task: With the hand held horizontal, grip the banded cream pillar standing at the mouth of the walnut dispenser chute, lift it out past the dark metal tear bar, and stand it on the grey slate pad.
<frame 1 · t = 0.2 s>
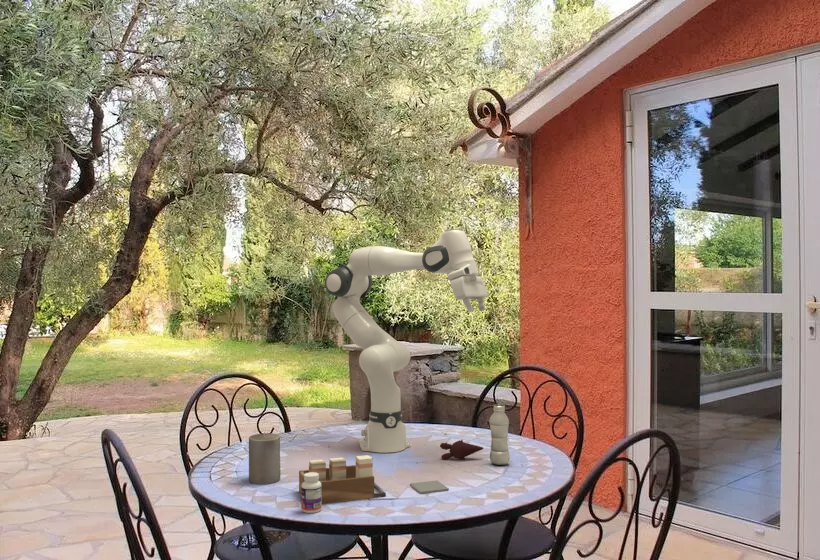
hand: (477, 311, 233), 52 cm above the table, tool tilted 20°, fingers open, 8 cm apart
icecream: (461, 459, 236), on the table
pill bottle: (311, 510, 183), on the table
plastic bottle: (499, 465, 228), on the table
banded cream pillar: (364, 491, 200), resting in dispenser
pad: (429, 488, 203), on the table
pillar candle: (264, 481, 212), on the table
dispenser: (337, 494, 197), on the table
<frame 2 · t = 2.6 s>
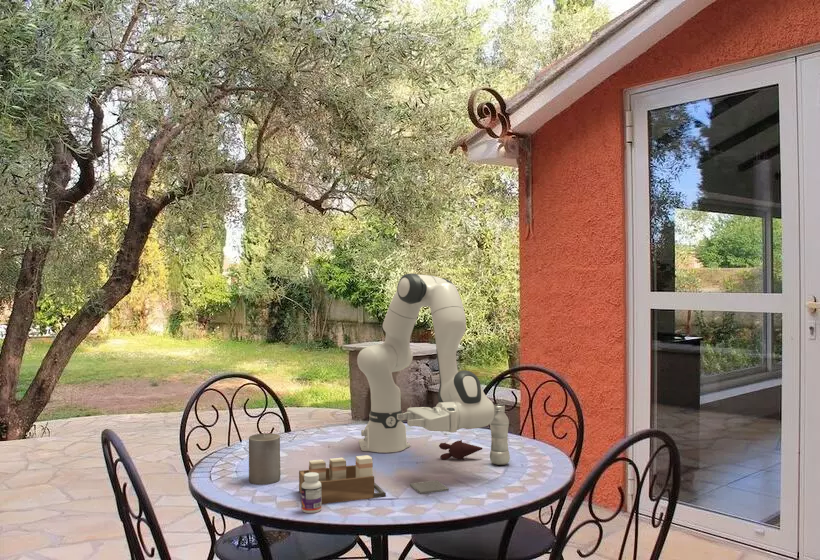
hand: (402, 420, 204), 20 cm above the table, tool horizontal, fingers open, 8 cm apart
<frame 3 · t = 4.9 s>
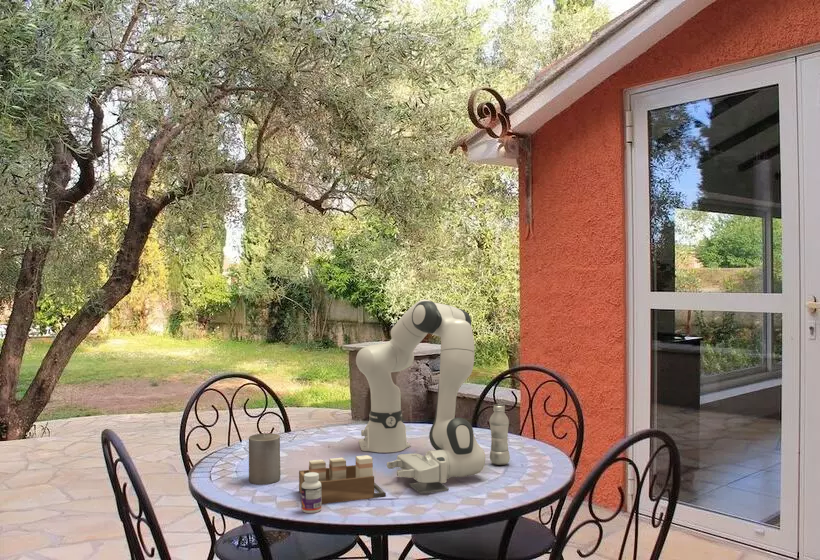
hand: (392, 469, 203), 5 cm above the table, tool horizontal, fingers open, 8 cm apart
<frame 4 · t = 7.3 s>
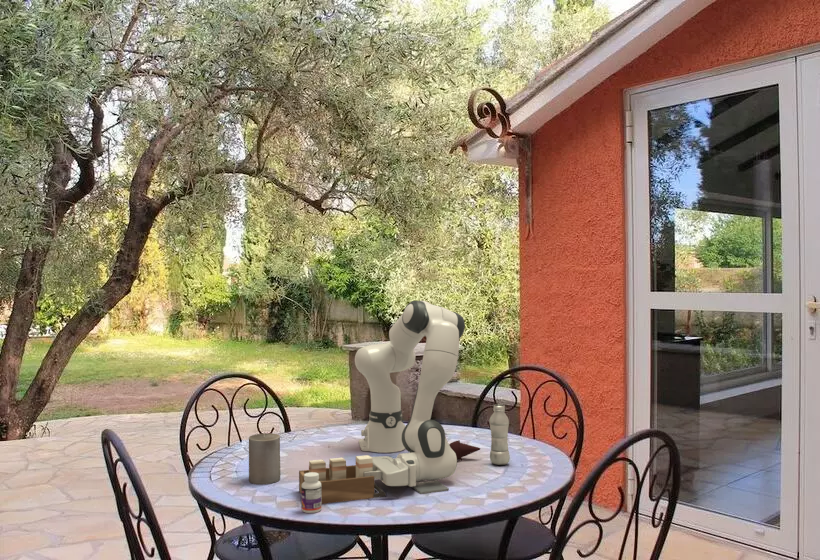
hand: (361, 472, 200), 6 cm above the table, tool horizontal, fingers closed on banded cream pillar, 4 cm apart
banded cream pillar: (364, 491, 200), resting in dispenser, touching gripper
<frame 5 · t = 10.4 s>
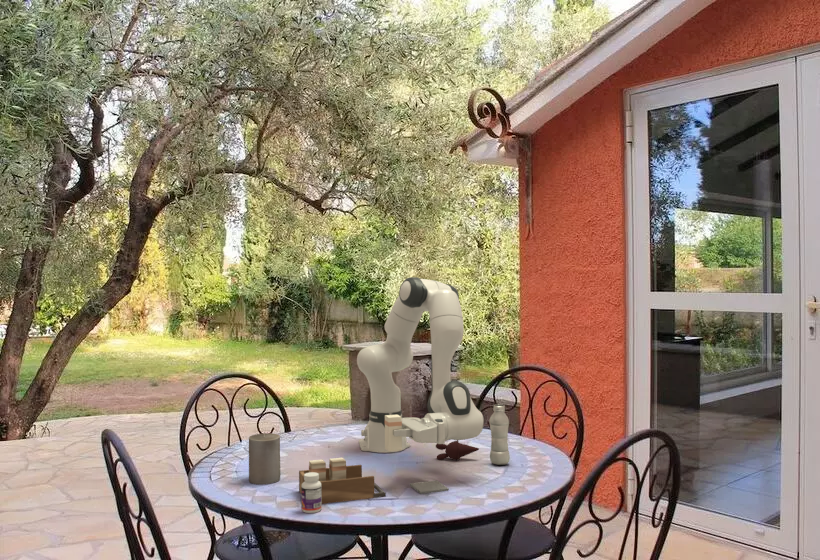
hand: (390, 431, 203), 17 cm above the table, tool horizontal, fingers closed on banded cream pillar, 4 cm apart
banded cream pillar: (393, 449, 203), point 11 cm above the table, touching gripper
when the fingers open (7 cm above the table, at t = 13.7 s): banded cream pillar stays where it is, resting on pad.
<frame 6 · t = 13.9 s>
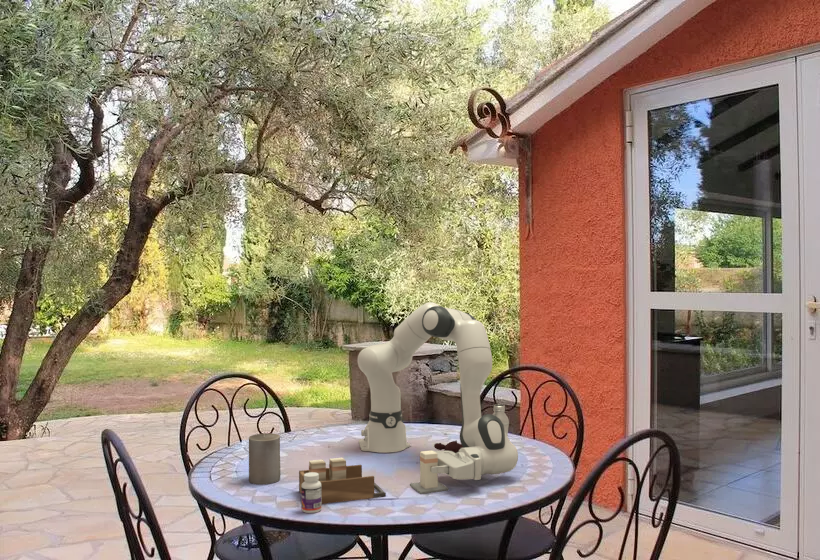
hand: (426, 466, 202), 7 cm above the table, tool horizontal, fingers open, 6 cm apart
banded cream pillar: (428, 486, 203), point 1 cm above the table, touching pad
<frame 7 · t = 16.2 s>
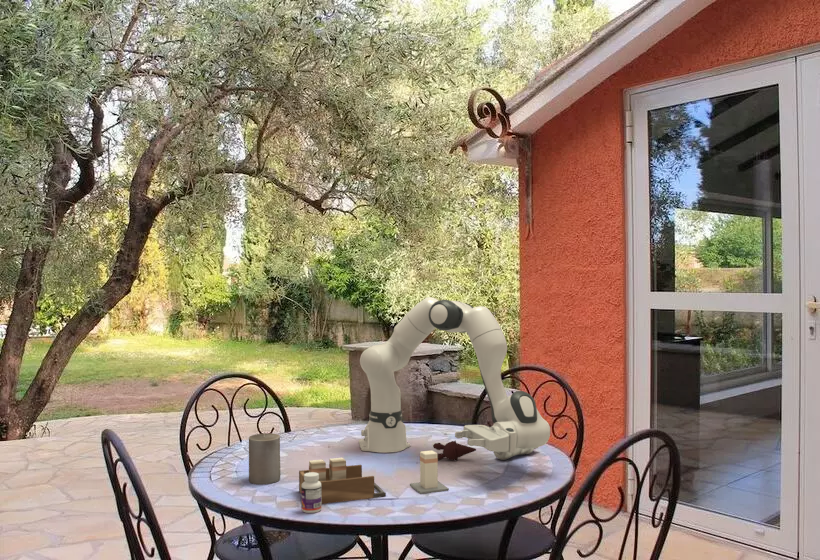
hand: (461, 438, 208), 13 cm above the table, tool horizontal, fingers open, 8 cm apart
plastic bottle: (497, 451, 233), point 3 cm above the table
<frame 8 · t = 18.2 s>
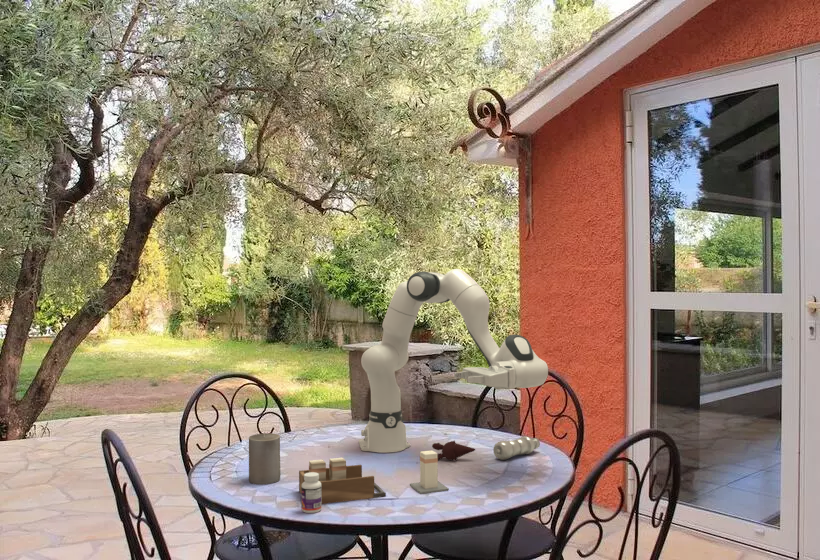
hand: (461, 377, 210), 32 cm above the table, tool horizontal, fingers open, 8 cm apart
at the end: banded cream pillar inside the target area on the pad (0.0 cm from its centre), point 0.6 cm above the pad's base; banded cream pillar tilted 0°; banded cream pillar moved 19.4 cm from its start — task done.
